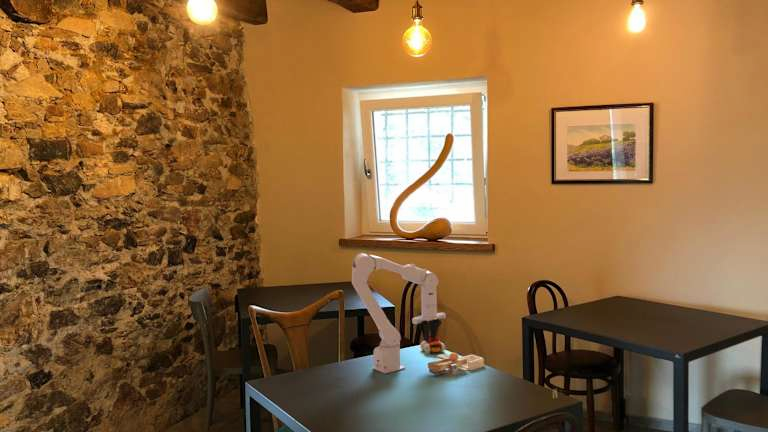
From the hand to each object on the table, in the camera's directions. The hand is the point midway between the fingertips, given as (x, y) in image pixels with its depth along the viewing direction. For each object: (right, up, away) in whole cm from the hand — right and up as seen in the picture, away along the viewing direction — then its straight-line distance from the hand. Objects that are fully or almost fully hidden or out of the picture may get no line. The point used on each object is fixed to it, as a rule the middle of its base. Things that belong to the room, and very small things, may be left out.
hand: (429, 340), depth 230 cm
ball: (+8, -5, -8) cm, 12 cm away
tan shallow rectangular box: (+15, -9, -3) cm, 18 cm away
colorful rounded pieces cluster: (+3, -9, +18) cm, 20 cm away
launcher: (+4, -9, -6) cm, 11 cm away
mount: (+6, -10, -9) cm, 15 cm away
